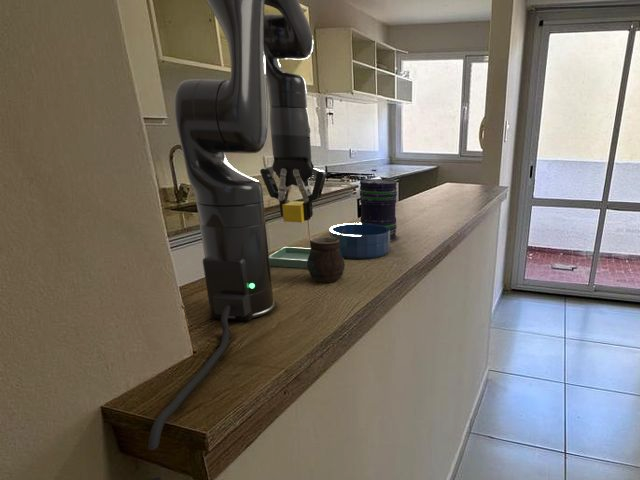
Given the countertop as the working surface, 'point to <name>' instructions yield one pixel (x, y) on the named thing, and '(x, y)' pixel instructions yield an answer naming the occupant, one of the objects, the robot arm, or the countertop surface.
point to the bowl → (362, 240)
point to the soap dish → (290, 257)
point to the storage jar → (379, 203)
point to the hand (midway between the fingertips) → (297, 218)
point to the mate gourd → (326, 259)
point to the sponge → (293, 212)
